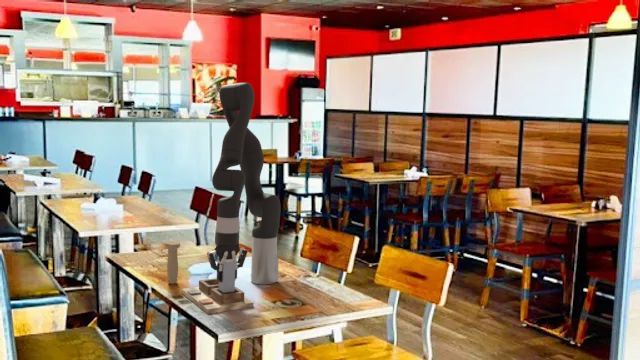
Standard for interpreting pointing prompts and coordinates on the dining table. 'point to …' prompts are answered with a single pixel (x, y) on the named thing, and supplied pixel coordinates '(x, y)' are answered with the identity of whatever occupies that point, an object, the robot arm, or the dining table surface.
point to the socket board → (216, 297)
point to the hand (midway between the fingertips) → (226, 280)
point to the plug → (228, 277)
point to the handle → (172, 261)
